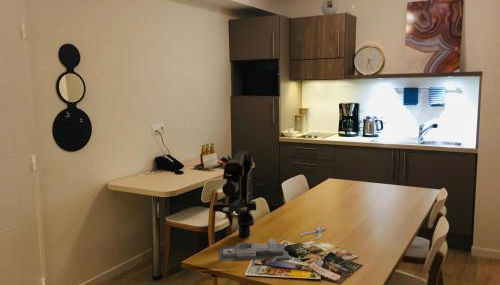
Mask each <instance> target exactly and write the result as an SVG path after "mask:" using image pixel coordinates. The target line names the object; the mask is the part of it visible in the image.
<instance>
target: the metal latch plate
mask: <svg viewBox="0 0 500 285" xmlns="http://www.w3.org/2000/svg"><path fill="white" fill-rule="evenodd" d="M277 244H278V243H277V241H276V238H268V241H267V242H265V243H264V242H263V243H261V242H260V243H256V242H253V241H252V242H236V246H237V254H244V253H256V252H257V251H277Z"/></svg>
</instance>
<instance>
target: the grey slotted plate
mask: <svg viewBox="0 0 500 285" xmlns="http://www.w3.org/2000/svg"><path fill="white" fill-rule="evenodd" d="M263 255H284V251H283V248H282V247H277V251H258V256H263ZM223 257H237V258H250V257H256V253H244V254H237V249H223Z"/></svg>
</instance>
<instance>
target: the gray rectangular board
mask: <svg viewBox="0 0 500 285" xmlns="http://www.w3.org/2000/svg"><path fill="white" fill-rule="evenodd" d="M277 247H282V248H283V251H284V255H263V256H258V251H257V252H256V257H250V258H237V257H223V249H237V245H220V246H219V248H218V258H217V259H218V260H217V261H219V262H223V261H225V262H226V261H227V262H228V261H229V262H230V261H247V260H249V261H250V260H268V259H269V260H270V259H275V260H276V259H290V256H289V251H288V250H287V251H285V249H284V248H285V247H286V248H287V246H286V244H285V243H277Z"/></svg>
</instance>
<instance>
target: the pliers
mask: <svg viewBox="0 0 500 285" xmlns="http://www.w3.org/2000/svg"><path fill="white" fill-rule="evenodd" d="M326 228H327V227H322V226H318V227H317V228H316V229H315V230H313V231H305V232H303V233H301V234H300V235H299V237H302V236H305V235H315V236H316V238H315V241H317V240H320V239H322V234H323V233H322V232H325V231H326V230H327V229H326Z"/></svg>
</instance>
